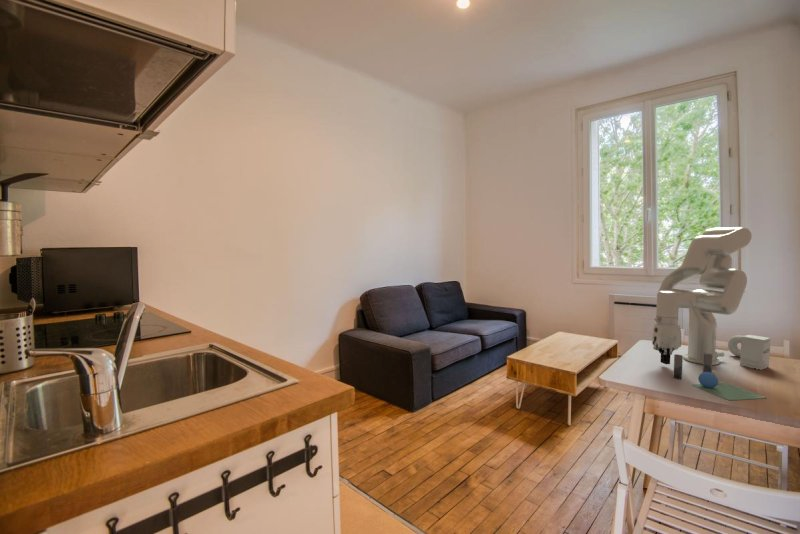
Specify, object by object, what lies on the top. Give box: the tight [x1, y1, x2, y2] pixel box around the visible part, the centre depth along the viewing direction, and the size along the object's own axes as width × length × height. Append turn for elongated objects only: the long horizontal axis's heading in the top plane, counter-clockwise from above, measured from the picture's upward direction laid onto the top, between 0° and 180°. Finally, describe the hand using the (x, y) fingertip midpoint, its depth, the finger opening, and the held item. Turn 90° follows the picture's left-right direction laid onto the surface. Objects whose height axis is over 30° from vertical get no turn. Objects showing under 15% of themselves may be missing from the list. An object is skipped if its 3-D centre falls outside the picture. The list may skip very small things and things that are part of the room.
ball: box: [697, 371, 719, 388], centre depth 137 cm, size 6×6×6 cm
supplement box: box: [739, 334, 772, 371], centre depth 160 cm, size 7×7×13 cm
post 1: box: [673, 354, 684, 381], centre depth 147 cm, size 3×3×9 cm
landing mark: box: [692, 382, 767, 402], centre depth 134 cm, size 14×14×1 cm
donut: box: [727, 335, 743, 358], centre depth 173 cm, size 10×4×10 cm, turn 18°
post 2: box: [702, 353, 713, 373], centre depth 148 cm, size 3×3×9 cm
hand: (665, 363), depth 160 cm, fingers closed
